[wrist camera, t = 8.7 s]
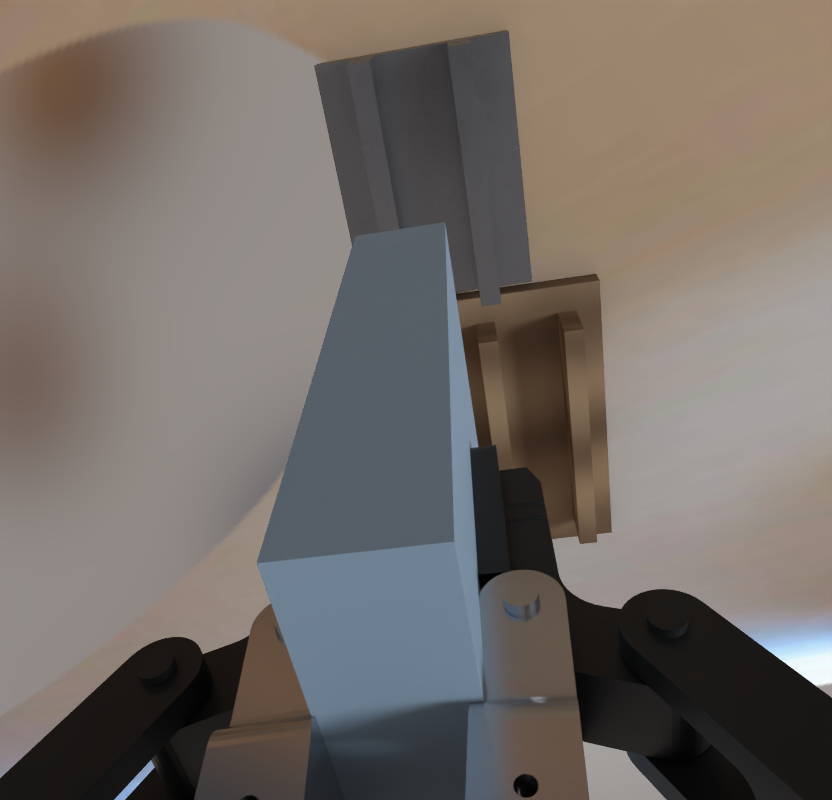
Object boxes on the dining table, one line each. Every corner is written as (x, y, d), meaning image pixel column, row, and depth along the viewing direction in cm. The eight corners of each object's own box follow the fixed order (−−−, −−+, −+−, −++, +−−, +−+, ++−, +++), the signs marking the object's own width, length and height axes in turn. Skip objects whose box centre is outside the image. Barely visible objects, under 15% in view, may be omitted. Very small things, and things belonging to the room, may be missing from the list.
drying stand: (317, 64, 36) (306, 71, 33) (506, 30, 35) (513, 35, 32) (366, 298, 41) (360, 323, 38) (529, 274, 41) (537, 298, 37)
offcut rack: (341, 310, 42) (333, 336, 39) (595, 274, 40) (608, 298, 37) (395, 545, 50) (392, 582, 47) (608, 522, 49) (619, 559, 45)
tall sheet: (355, 235, 17) (256, 563, 8) (445, 222, 16) (453, 541, 7) (414, 517, 21) (396, 955, 11) (487, 509, 20) (528, 948, 11)
